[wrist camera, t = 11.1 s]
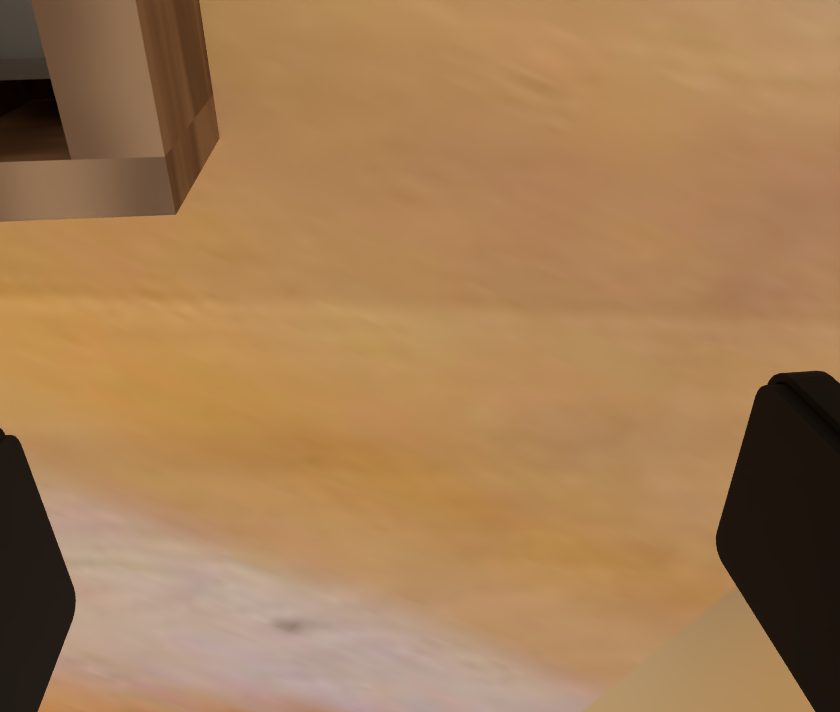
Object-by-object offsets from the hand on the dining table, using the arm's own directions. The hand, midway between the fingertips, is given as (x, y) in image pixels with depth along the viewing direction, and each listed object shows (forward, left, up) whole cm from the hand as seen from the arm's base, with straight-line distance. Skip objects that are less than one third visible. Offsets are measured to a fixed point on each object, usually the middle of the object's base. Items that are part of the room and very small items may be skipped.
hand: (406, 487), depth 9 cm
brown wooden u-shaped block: (+12, -2, -28) cm, 31 cm away
